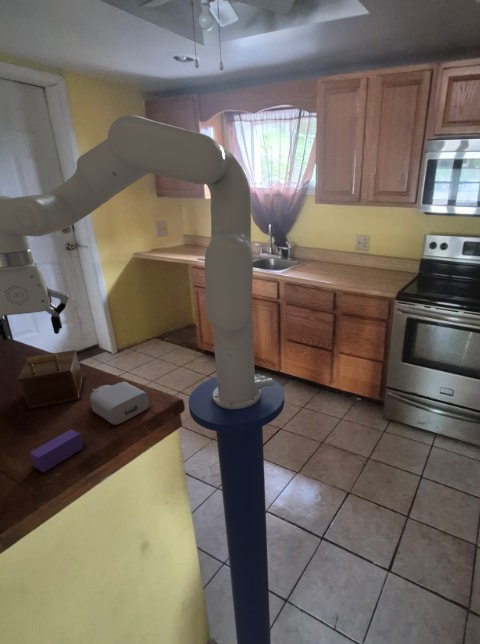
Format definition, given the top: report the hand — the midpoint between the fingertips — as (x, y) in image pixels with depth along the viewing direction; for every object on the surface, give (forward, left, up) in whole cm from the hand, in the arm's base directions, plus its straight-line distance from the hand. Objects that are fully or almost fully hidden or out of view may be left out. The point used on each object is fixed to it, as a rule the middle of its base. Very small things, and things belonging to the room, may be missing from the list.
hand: (32, 334), depth 84 cm
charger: (-14, +7, -19) cm, 24 cm away
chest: (0, -5, -18) cm, 19 cm away
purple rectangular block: (-4, +23, -18) cm, 29 cm away
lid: (0, -5, -10) cm, 11 cm away
